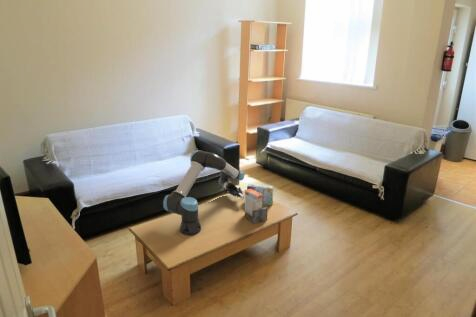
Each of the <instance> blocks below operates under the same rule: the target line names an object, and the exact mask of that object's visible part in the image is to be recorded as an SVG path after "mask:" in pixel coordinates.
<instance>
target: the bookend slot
mask: <svg viewBox="0 0 476 317" xmlns="http://www.w3.org/2000/svg"><path fill="white" fill-rule="evenodd" d="M268 210H269V209H268V207H267V206H266V207H262V209H258V210H254V211H252V217H251V216H250V215H248V214H247V213H246V212H245V211H244V217H245V218H246V219H247V220H248V221H249V222H251V223H252V224H257V223H261V222H264V221H267V220H268Z"/></svg>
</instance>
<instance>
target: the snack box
mask: <svg viewBox="0 0 476 317" xmlns="http://www.w3.org/2000/svg"><path fill="white" fill-rule="evenodd" d="M248 189H252V190H254V191H256V192H258V193H260V194H262V195H263V198H262V205H267V206H272V205H273V203H274V186H273V185H264V184H257V183H256V184H255V183H248V184H247V186H246V190H248Z"/></svg>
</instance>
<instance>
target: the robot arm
mask: <svg viewBox="0 0 476 317" xmlns="http://www.w3.org/2000/svg"><path fill="white" fill-rule="evenodd" d="M189 160H190V167H189V168H188V170H187V172H186V173H185V174H184V176H183V178H182V180H181V181H180V182H179V185H178V186H177V188H176V189H175V190H173V191H172V192H171V193H170V194H167V195H165V196H164V198H163V202H162V204H163V209H164V210H165V211H166V212H169V213H173V214H176V215H178V216H181V222H180V225H179V233H181V234H182V235H185V236H194V235H197V234H199V233H200V232H201V230H202V224H201V223H200V220H199V205H198V200H197V199H196V198H194V197H192V196H188V194H189V192H190V191H191V188H192V187H193V185H194V183H195V182H196V180H197V179H198V177H199V176H200V173H201V172H203V171H205V169H206V168H209V169H213V170H217V171H220V177H219V179H218V184H219V185H220V186H221V187H223V188H224V189H225V190H226V193H227V194H230V195H231V196H234V197H236V198H240V199H241V200H245V195H243V194H244V193H243V190H242V188H241V186H239V187H237V186H236V185H235V184H234V183H233V182H232V181H231V180H230V179H234V180H236V181H243V180H245V172H244V171H240V170H238V169H237V168H235V167H233V166H232V165H231V164H229V162H227V161H226V160H225V159H224V158H223V157H221V156H220V155H218V154H216V153H214V152H210V151H203V150H199V149H197V150H195V151H192V153H191V156H190V159H189Z"/></svg>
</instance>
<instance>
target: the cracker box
mask: <svg viewBox="0 0 476 317" xmlns="http://www.w3.org/2000/svg"><path fill="white" fill-rule="evenodd" d="M262 198H263V195H262V194H260V193H258V192H256V191H254V190H252V189H248V190H247V189H245V190H244V213H245V212H246V213H247V214H248V215H250V216H251V217H252V211H254V210H258V209H262V208H263V204H262Z"/></svg>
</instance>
